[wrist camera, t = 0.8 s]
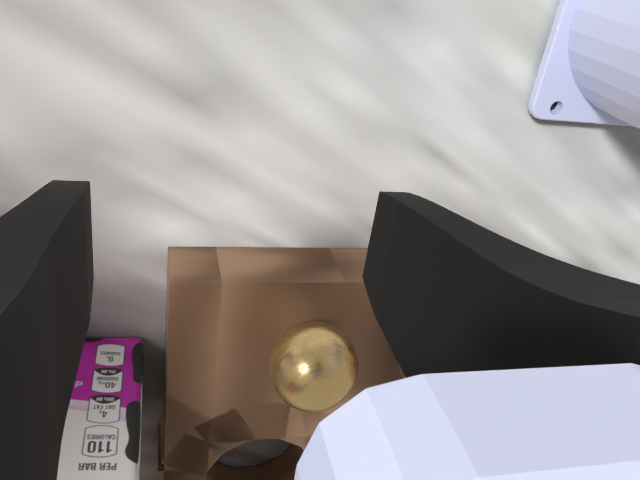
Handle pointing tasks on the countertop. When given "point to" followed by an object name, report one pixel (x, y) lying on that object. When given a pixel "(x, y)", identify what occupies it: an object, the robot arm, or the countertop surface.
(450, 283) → the robot arm
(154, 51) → the countertop surface
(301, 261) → the brown square tray
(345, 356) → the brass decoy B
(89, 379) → the candy bar box
